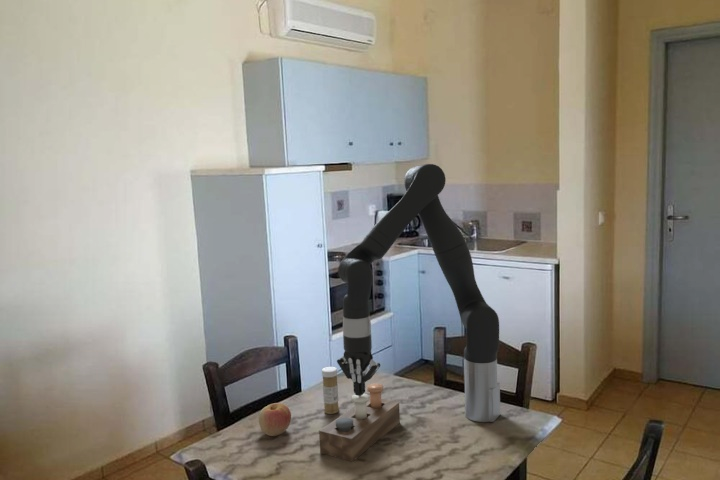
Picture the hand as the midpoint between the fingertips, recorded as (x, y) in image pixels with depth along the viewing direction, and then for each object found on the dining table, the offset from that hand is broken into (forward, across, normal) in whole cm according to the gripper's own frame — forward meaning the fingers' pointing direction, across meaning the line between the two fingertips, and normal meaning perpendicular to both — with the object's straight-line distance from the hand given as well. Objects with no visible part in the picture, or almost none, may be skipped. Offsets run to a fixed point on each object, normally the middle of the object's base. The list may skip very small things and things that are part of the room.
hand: (359, 394), depth 161 cm
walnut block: (+12, 0, 0) cm, 12 cm away
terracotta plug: (+8, 0, -8) cm, 11 cm away
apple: (+12, +23, +9) cm, 27 cm away
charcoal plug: (+11, 0, +8) cm, 14 cm away
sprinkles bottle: (+12, +17, -10) cm, 23 cm away
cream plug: (+8, 0, 0) cm, 8 cm away
